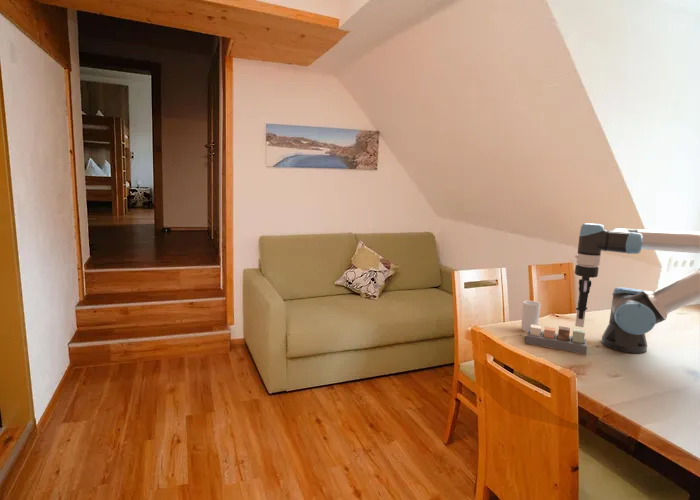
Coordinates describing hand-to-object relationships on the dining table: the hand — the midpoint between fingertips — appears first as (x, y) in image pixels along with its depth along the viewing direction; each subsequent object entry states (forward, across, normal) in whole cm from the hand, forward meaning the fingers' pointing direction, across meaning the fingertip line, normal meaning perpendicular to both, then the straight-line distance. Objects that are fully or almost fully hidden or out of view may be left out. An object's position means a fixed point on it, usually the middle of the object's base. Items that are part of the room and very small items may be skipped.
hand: (579, 326), depth 164 cm
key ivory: (+7, 0, -15) cm, 16 cm away
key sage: (+6, 0, 0) cm, 6 cm away
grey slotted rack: (+9, 0, -7) cm, 12 cm away
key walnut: (+6, 0, -5) cm, 8 cm away
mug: (+9, -14, -17) cm, 24 cm away
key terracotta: (+7, 0, -10) cm, 12 cm away
